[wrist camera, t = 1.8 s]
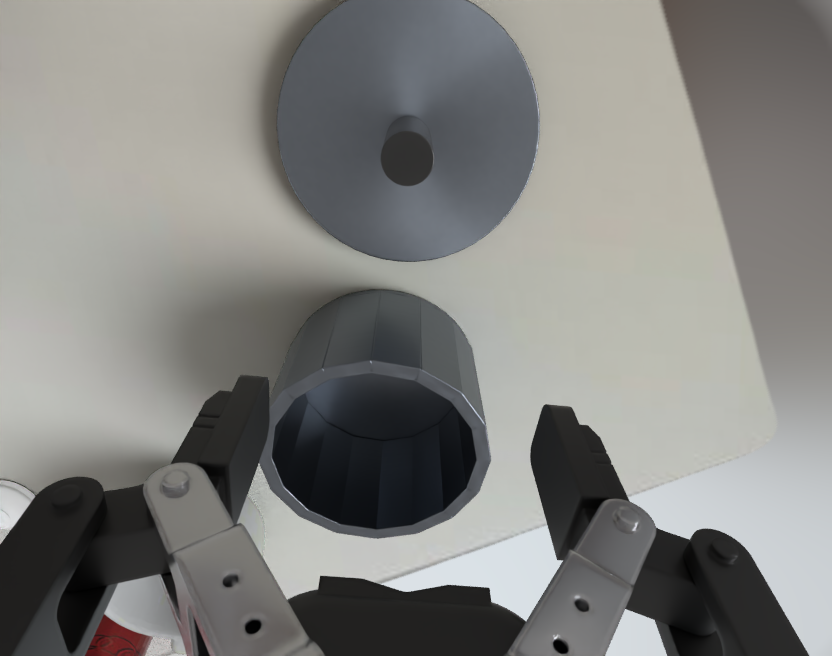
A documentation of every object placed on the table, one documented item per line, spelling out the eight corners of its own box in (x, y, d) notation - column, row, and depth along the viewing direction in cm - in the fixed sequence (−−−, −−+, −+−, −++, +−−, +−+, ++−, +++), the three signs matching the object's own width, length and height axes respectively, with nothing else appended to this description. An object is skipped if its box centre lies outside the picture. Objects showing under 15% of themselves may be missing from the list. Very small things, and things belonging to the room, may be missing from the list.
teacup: (148, 439, 39) (90, 526, 32) (292, 474, 41) (267, 564, 34) (132, 557, 46) (81, 652, 39) (257, 583, 47) (230, 678, 40)
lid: (227, 95, 28) (183, 109, 23) (452, -82, 25) (463, -115, 19) (377, 294, 34) (370, 343, 28) (577, 174, 30) (613, 205, 25)
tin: (251, 349, 36) (208, 432, 28) (409, 253, 32) (407, 318, 25) (361, 467, 41) (349, 564, 33) (506, 394, 38) (529, 484, 30)
